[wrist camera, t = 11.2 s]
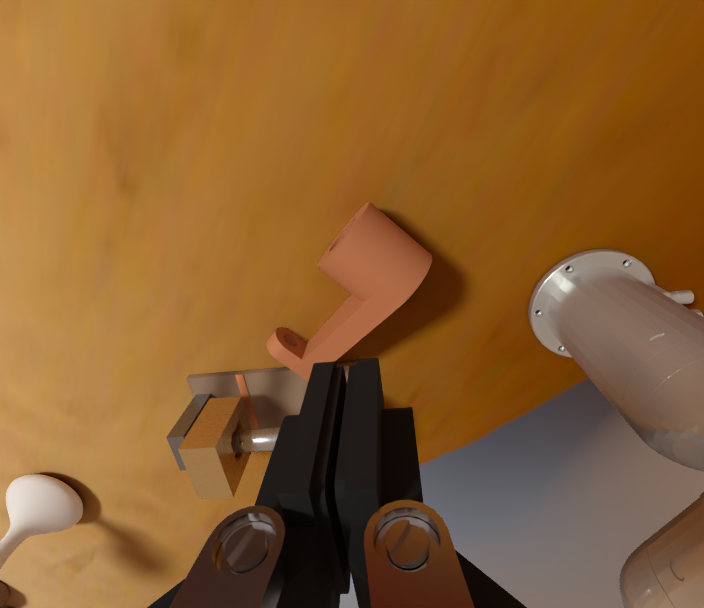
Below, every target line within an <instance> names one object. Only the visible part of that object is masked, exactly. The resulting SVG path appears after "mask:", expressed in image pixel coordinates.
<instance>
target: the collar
mask: <svg viewBox="0 0 704 608" xmlns="http://www.w3.org/2000/svg"><path fill="white" fill-rule="evenodd" d="M235 428H238V429H239V430H242V429H251V426H250V423H249V419H248V416H247V413H246V410H245V407H244V403H243V400H242V397H241V396H237V397H223V398H210V399H209V401H208V402H207V404H206V405H205V407H204V409H203V410H202V412H201V413H200V415H199V416H198V418H197V420H196V421H195V423H194V424H193V426H192V428H191V429H190V431H189V432H188V434H187V436H186V437H185V439H184V440H183V442H182V444H181V445H180V447H179V448H178V451H179V453H180V456H181V458H182V461H183V463H184V465H185V468H186V470H187V472H188V475H189V477H190V480H191V482H192V484H193V487H194V489H195V492H196V494H197V496H198V499H209V498H233V497H234V495H235V492H236V490H237V487H238V485H239V482H240V480H241V477H242V474H243V472H244V469H245V467H246V464H247V462H248V459H249V457H250V454H251V452H240V453H238V454H237V455H234V452H233V450H232V447H231V444H230V441H229V440H230V438H231V436H232V434H233V432H234V430H235Z"/></svg>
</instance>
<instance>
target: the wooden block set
mask: <svg viewBox="0 0 704 608" xmlns="http://www.w3.org/2000/svg"><path fill="white" fill-rule="evenodd" d="M9 596H10V592H9V590H8V587H7V585H6V584H5V583H3V582H1V581H0V607H1V606H2V605H3V604H4V602H5V601H6V600H7V599H8V597H9Z"/></svg>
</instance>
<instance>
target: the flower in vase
mask: <svg viewBox="0 0 704 608" xmlns="http://www.w3.org/2000/svg"><path fill="white" fill-rule="evenodd" d="M6 505H7V510H8V514H9V517H10V522H11V525H10V528H9V531H8V532H7V534H6V535H5V536H4V538H3V539H2V540H1V541H0V569H1V567H2V566H3V564H4V563H5V561H6V560H7V559H8V557H9V556H10V555H11V554H12V552H13V551H14V550H15V549H16V548H17V547H18V546H19V545H20V544H21V543H22V542H23V541H24V540H25V539H27V538H28V537H30V536H33V535H38V534H46V533H53V532H58V531H62V530H65V529H68V528H70V527H72V526H73V525H75V524H76V523H78V522H79V521H80V519H81V518H82V514H83V504H82V501H81V499H80V497H79V496H78V494H77V493H76V492H75V491H74V490H73V489H72V488H71V487H70V486H68V485H67V484H65V483H64V482H62V481H60V480H58V479H56V478H53V477H50V476H46V475H41V474H30V475H25V476H22V477H19V478H17V479H15V480H14V481H13V482H12V483H11V484H10V486H9V488H8V490H7V493H6Z"/></svg>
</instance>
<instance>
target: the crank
mask: <svg viewBox="0 0 704 608" xmlns="http://www.w3.org/2000/svg"><path fill="white" fill-rule="evenodd" d="M431 263H432V255H431V254H430V253H429V252H428V251H426V250H425V249H424V248H423V247H422V246H420V245H419V244H418V243H417V242H416V241H415V240H413V239H412V238H411V237H410V236H409V235H408V234H406V233H405V232H404V231H403V230H402V229H401V228H399V227H398V226H397V225H396V224H395V223H394V222H392V221H391V220H390V219H389V218H388V217H387V216H385V215H384V214H383V213H382V212H381V211H380V210H378V209H377V208H376V207H375V206H374V205H373V204H371V203H370V202H367V203H366V204H365V205H363V206H362V207H361V209H360V210H359V211H358V212H357V213H356V214H355V215H354V216H353V217H352V219H351V220H350V221H349V222H348V224H347V225H346V226H345V227H344V228H343V230H342V231H341V232H340V233H339V234H338V236H337V237H336V238H335V240H334V241H333V242H332V244H331V245H330V246H329V248H328V249H327V251H326V252H325V253H324V255H323V256H322V258H321V260H320V261H319V263H318V265H317V267H318V268H319V269H320V270H322V271H323V272H324V273H326V274H327V275H328V276H329V277H331V278H332V279H333V280H335V281H336V282H337V283H338V284H340V285H341V286H342V287H344V288H345V289H346V290H347V291H349V292H350V293H351V295H350V296H349V298H348V299H347V300H346V301H345V302H344V303H343V304H342V305H341V306H340V307H339V309H338V310H337V311H336V312H335V313H334V314H333V315H332V316H331V317H330V319H329V320H328V321H327V322H326V323H325V324H324V325H323V326H322V327H321V328H320V330H319V331H318V332H317V333H316V334H315V335H314V336H313V337H312V338H311V340H310V341H309V342H308V343H307V342H305V341H304V340H303V339H301V338H300V337H298V336H297V335H296V334H294V333H293V332H292V331H290V330H289V329H287V328H284V327H280V328H277V329H276V331H275V332H274V333H273V334H272V335H271V336H270V338H269V339H268V340H267V342H266V346H267V349H268V351H269V352H270V354H271V355H272V356H273V357H274V358H275V359H276V360H278V361H279V362H281V363H282V364H283V365H285V366H286V367H288V368H289V369H291V370H292V371H294V372H295V373H296V374H298V375H299V376H301V377H302V378H304V379H305V380H306V381H309V378H310V374H311V371H312V367H313V364H314V363H320V362H333V361H336V360H337V359H338V358H340V357H341V356H342V355H343V354H344V353H345V352H347V351H348V350H349V349H350V348H351V347H353V346H354V345H355V344H356V343H357V342H359V341H360V340H361V339H362V338H363V337H364V336H366V335H367V334H368V333H369V332H370V331H372V330H373V329H374V328H375V327H376V326H377V325H379V324H380V323H381V322H382V321H383V320H385V319H386V318H387V317H388V316H389V315H391V314H392V313H393V312H394V311H395V310H396V309H398V308H399V307H400V306H401V305H402V304H403V303H404V302H405V301H406V300H407V299H408V298H409V297H410V296H411V295H412V294H413V293H414V292H415V290H416V289H417V288H418V286H419V285H420V284H421V282H422V281H423V279H424V278H425V276H426V274H427V272H428V270H429V268H430V266H431Z"/></svg>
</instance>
